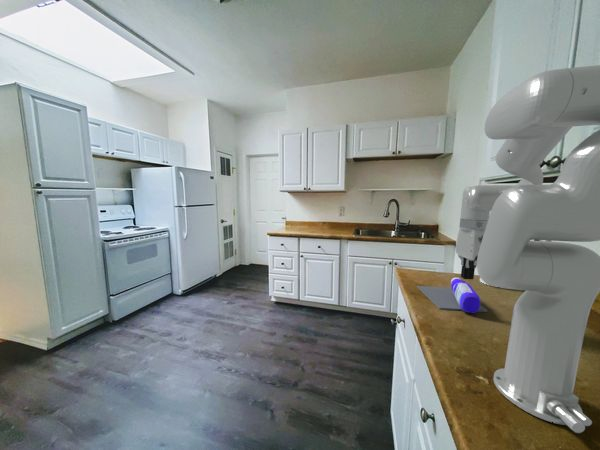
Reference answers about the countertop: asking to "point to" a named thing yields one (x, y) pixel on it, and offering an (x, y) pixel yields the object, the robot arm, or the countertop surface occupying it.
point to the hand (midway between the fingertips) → (466, 278)
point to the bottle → (465, 295)
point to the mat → (443, 298)
